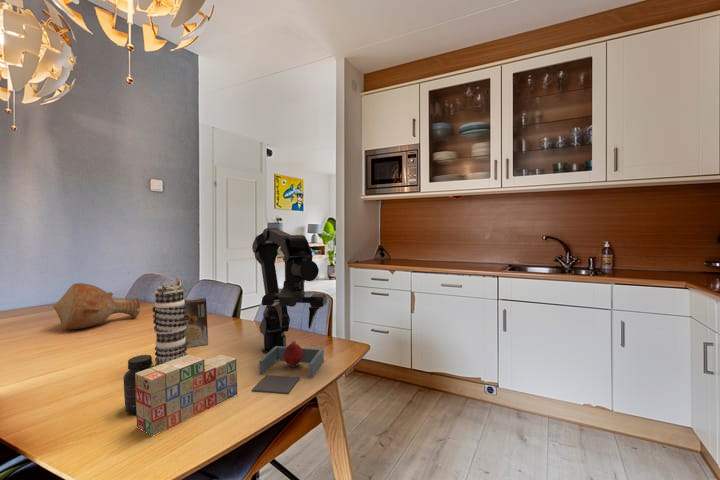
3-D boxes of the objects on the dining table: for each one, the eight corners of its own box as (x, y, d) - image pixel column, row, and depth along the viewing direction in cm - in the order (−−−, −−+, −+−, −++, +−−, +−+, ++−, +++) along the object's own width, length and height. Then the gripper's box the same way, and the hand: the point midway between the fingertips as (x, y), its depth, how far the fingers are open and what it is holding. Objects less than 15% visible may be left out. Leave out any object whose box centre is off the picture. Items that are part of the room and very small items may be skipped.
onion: (298, 371, 102) (298, 344, 102) (280, 369, 104) (280, 343, 103) (305, 363, 108) (305, 338, 108) (288, 362, 109) (288, 337, 109)
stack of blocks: (222, 388, 92) (221, 342, 92) (237, 394, 89) (237, 347, 89) (136, 428, 74) (134, 372, 74) (151, 438, 71) (150, 379, 70)
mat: (251, 391, 90) (251, 389, 90) (266, 376, 99) (266, 374, 99) (288, 394, 89) (288, 392, 89) (299, 378, 98) (299, 377, 98)
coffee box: (208, 339, 131) (207, 297, 130) (208, 345, 125) (207, 300, 124) (180, 343, 127) (179, 299, 126) (179, 348, 121) (178, 303, 121)
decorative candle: (154, 376, 99) (151, 289, 98) (153, 365, 107) (151, 285, 106) (189, 369, 104) (187, 286, 103) (186, 359, 112) (184, 282, 111)
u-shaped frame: (259, 374, 101) (259, 360, 100) (275, 358, 112) (275, 346, 112) (312, 377, 98) (312, 363, 98) (323, 361, 110) (323, 348, 110)
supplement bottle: (135, 401, 85) (133, 353, 85) (164, 399, 86) (162, 352, 86) (118, 416, 79) (116, 364, 78) (149, 415, 79) (148, 363, 79)
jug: (46, 299, 148) (126, 295, 171) (48, 340, 140) (132, 331, 164) (58, 274, 138) (142, 274, 162) (61, 317, 131) (148, 310, 154)
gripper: (253, 280, 98) (254, 334, 99) (318, 281, 96) (318, 337, 97) (268, 274, 109) (269, 323, 110) (327, 275, 107) (327, 325, 108)
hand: (295, 327), depth 106 cm, fingers open, 9 cm apart
